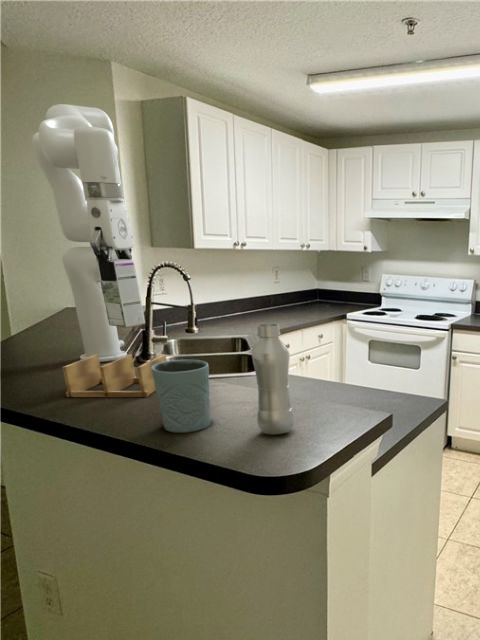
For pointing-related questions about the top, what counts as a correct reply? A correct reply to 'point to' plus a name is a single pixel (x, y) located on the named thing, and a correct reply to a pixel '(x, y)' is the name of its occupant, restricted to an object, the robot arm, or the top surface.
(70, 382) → the wooden shelf rack
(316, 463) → the top surface
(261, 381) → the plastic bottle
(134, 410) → the top surface
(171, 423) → the blue embossed cup
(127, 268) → the syrup box
